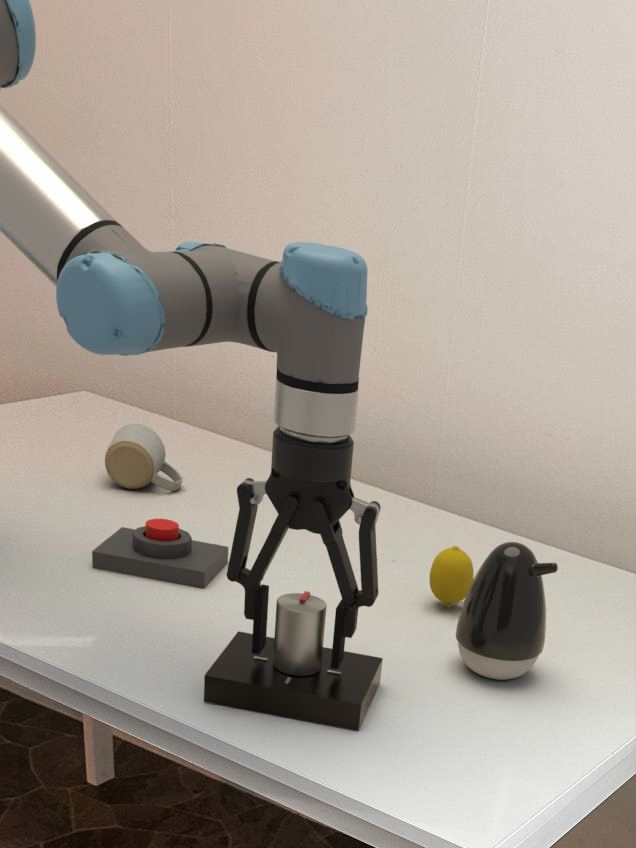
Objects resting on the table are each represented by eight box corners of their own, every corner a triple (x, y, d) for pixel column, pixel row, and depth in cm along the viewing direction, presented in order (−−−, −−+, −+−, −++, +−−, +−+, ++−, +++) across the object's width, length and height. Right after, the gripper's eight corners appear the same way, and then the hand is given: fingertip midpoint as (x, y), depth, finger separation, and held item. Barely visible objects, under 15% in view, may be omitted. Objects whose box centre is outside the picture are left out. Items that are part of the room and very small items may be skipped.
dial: (315, 679, 121) (320, 612, 117) (267, 670, 121) (271, 603, 117) (326, 660, 125) (331, 595, 121) (279, 652, 125) (283, 586, 121)
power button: (140, 539, 145) (140, 525, 144) (151, 530, 148) (151, 516, 147) (172, 545, 145) (172, 531, 144) (183, 535, 148) (183, 522, 147)
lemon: (452, 596, 155) (460, 537, 150) (477, 612, 151) (486, 552, 147) (417, 600, 152) (425, 540, 147) (441, 617, 148) (450, 555, 144)
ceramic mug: (102, 487, 169) (102, 433, 165) (113, 471, 176) (113, 419, 172) (177, 498, 171) (179, 445, 167) (185, 482, 178) (187, 430, 174)
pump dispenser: (514, 699, 131) (538, 567, 123) (434, 669, 135) (453, 539, 127) (554, 672, 139) (579, 547, 131) (477, 644, 143) (497, 520, 134)
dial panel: (203, 702, 120) (204, 673, 118) (237, 656, 130) (238, 629, 128) (358, 731, 119) (361, 703, 118) (379, 683, 130) (383, 656, 128)
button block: (92, 568, 144) (91, 536, 142) (122, 543, 153) (121, 513, 151) (204, 589, 144) (205, 557, 142) (228, 563, 153) (229, 532, 150)
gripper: (427, 441, 113) (400, 660, 125) (218, 403, 113) (212, 625, 126) (415, 460, 107) (388, 689, 119) (194, 420, 107) (189, 652, 119)
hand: (297, 656), depth 122 cm, fingers open, 8 cm apart
